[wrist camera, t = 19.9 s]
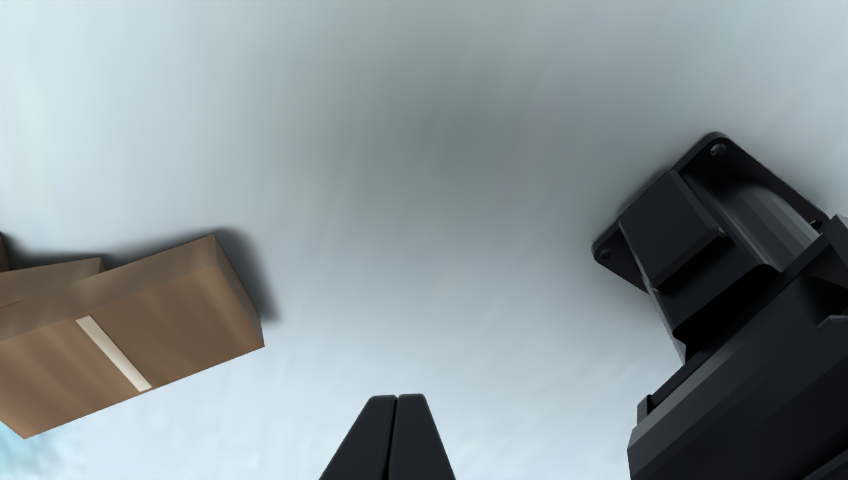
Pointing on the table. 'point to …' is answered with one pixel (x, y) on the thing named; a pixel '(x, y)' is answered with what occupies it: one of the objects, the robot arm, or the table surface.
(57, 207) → the table surface
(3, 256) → the tile
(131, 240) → the table surface
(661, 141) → the table surface
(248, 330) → the tile
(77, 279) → the tile
